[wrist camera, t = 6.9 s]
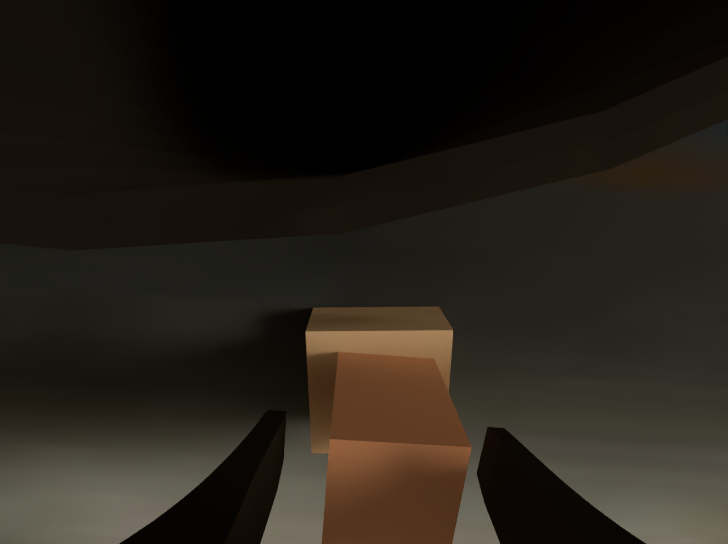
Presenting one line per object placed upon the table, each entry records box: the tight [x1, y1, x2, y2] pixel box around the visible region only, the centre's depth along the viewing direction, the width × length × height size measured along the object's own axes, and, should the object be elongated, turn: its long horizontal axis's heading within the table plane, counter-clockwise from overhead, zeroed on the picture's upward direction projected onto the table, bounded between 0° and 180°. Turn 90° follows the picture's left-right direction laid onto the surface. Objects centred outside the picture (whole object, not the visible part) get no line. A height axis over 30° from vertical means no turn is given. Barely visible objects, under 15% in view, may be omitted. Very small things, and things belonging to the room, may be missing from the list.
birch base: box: [306, 307, 453, 454], centre depth 17 cm, size 6×6×3 cm
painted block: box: [322, 352, 472, 544], centre depth 13 cm, size 4×4×5 cm
